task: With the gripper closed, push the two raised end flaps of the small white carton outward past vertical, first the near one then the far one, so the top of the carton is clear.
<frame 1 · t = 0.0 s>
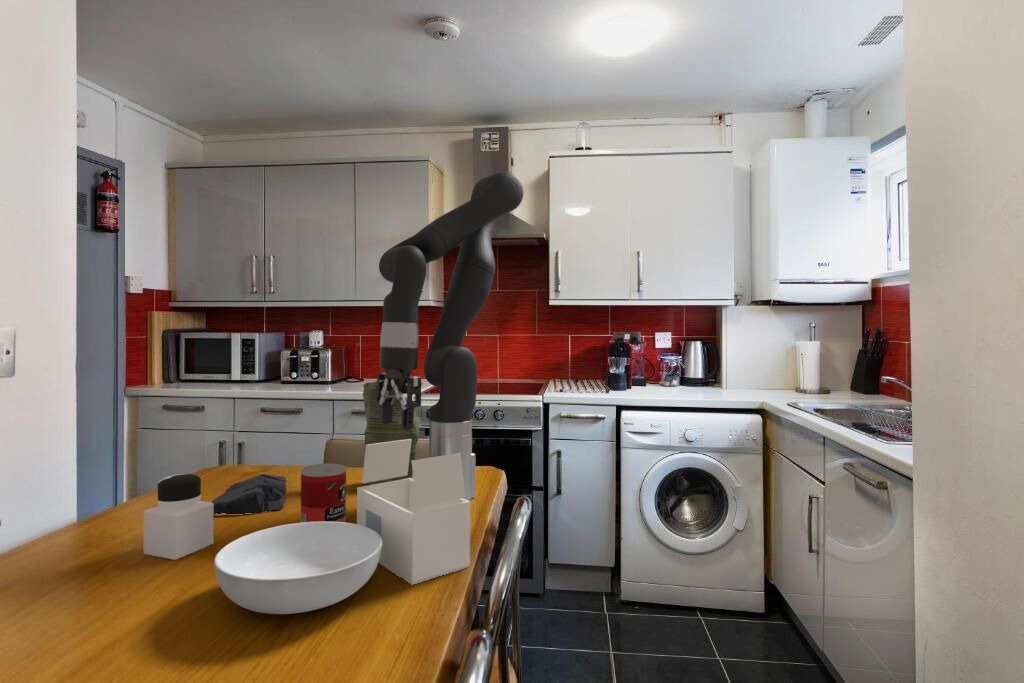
hand: (396, 426, 108), 17 cm above the table, tool pointing down, fingers open, 8 cm apart
near flap: (439, 479, 79), point 14 cm above the table, hinge at 78.0°
serving bowl: (302, 597, 72), on the table
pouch: (391, 484, 129), on the table
carton: (411, 556, 85), on the table
medicine bottle: (179, 550, 88), on the table
far flap: (387, 460, 91), point 14 cm above the table, hinge at 78.0°
canned food: (323, 528, 99), on the table
dark slate chunk: (252, 502, 116), on the table
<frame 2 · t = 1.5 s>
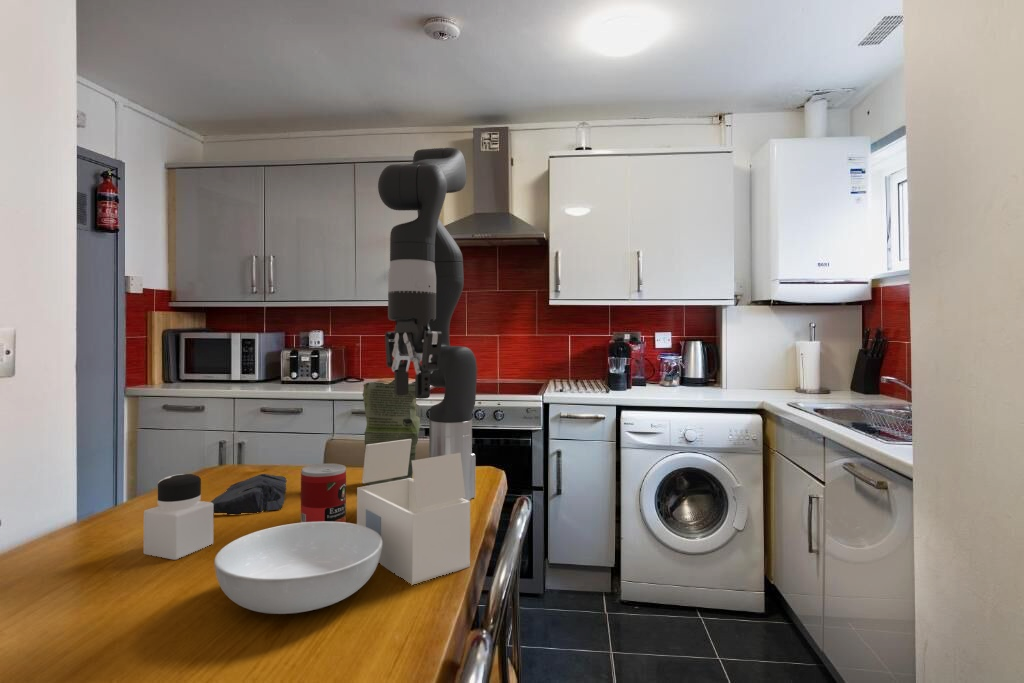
hand: (411, 396, 85), 26 cm above the table, tool pointing down, fingers open, 6 cm apart
nothing on the table moved.
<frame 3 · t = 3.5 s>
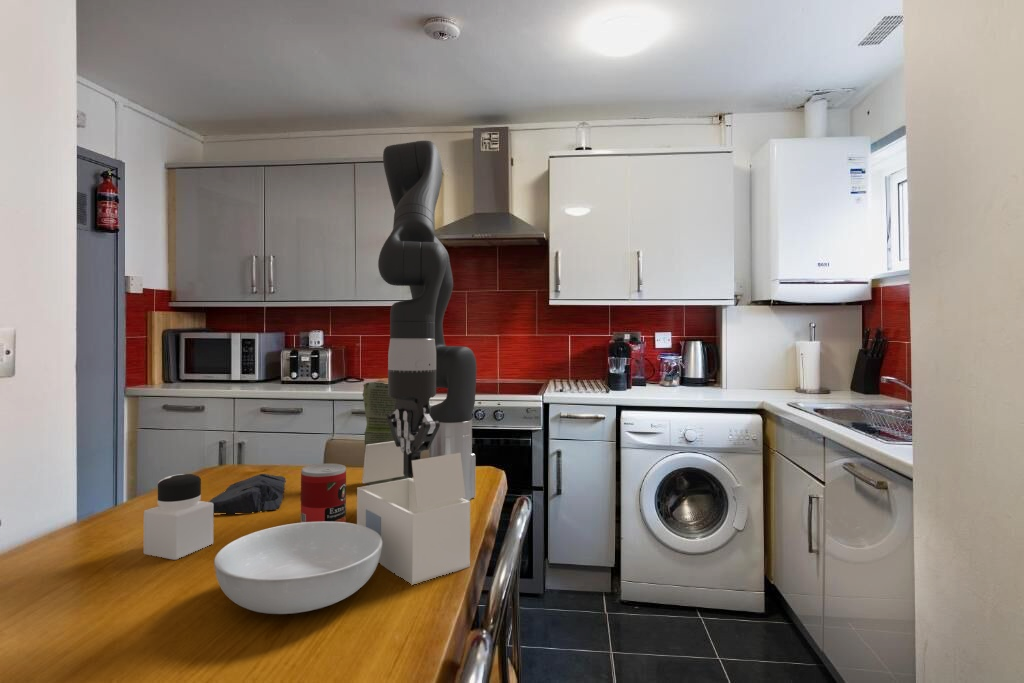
hand: (411, 476, 85), 13 cm above the table, tool pointing down, fingers closed
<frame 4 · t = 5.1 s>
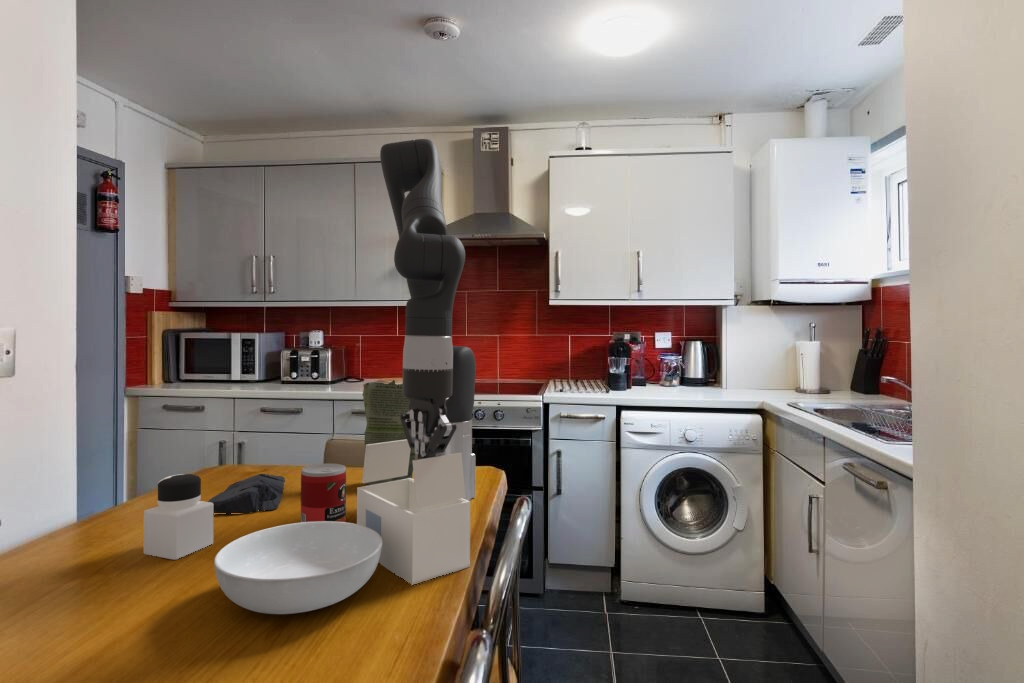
hand: (425, 479, 82), 13 cm above the table, tool pointing down, fingers closed
near flap: (439, 479, 79), point 14 cm above the table, hinge at 80.2°, touching gripper
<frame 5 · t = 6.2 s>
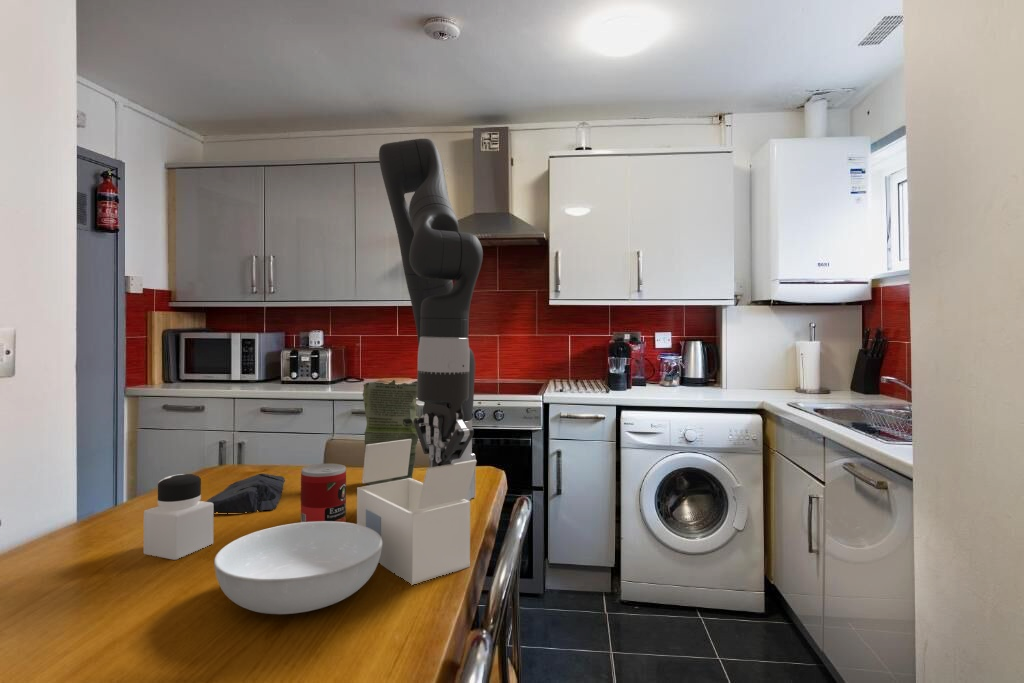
hand: (440, 486, 79), 13 cm above the table, tool pointing down, fingers closed
near flap: (447, 483, 78), point 14 cm above the table, hinge at 112.9°, touching gripper
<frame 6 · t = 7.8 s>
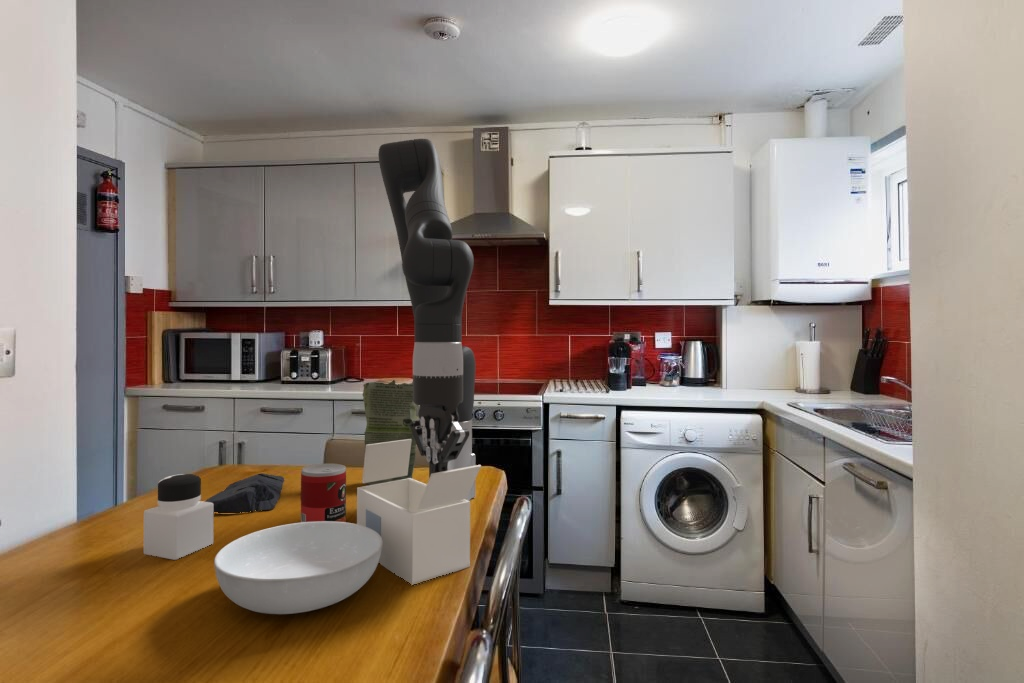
hand: (438, 486, 81), 12 cm above the table, tool pointing down, fingers closed
near flap: (449, 486, 77), point 13 cm above the table, hinge at 122.9°
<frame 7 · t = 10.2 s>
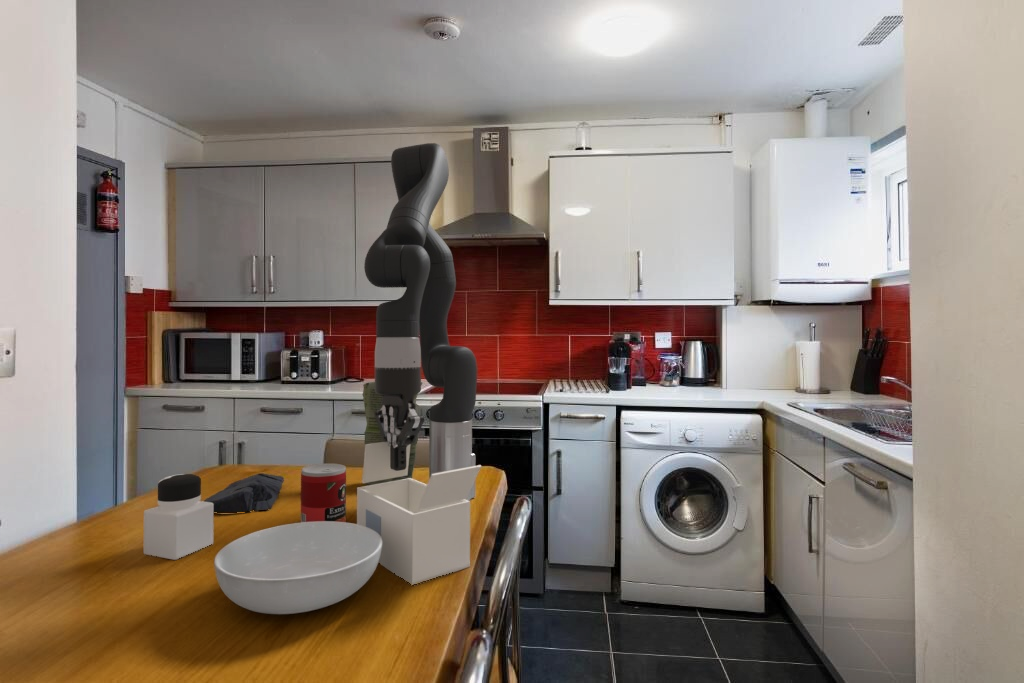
hand: (398, 469, 89), 13 cm above the table, tool pointing down, fingers closed
near flap: (449, 487, 77), point 13 cm above the table, hinge at 123.4°
far flap: (387, 460, 92), point 14 cm above the table, hinge at 79.9°, touching gripper
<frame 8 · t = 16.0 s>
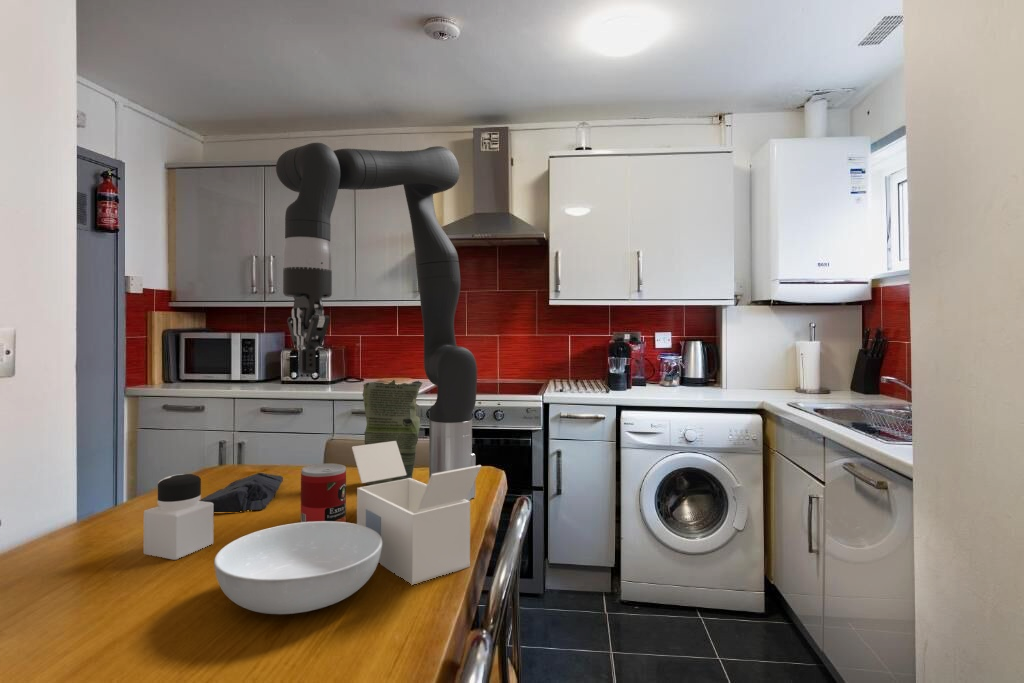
hand: (307, 373, 88), 29 cm above the table, tool pointing down, fingers closed
far flap: (379, 461, 94), point 13 cm above the table, hinge at 125.9°
at the end: near flap at +123° (first picture: +78°); far flap at +126° (first picture: +78°) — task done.
